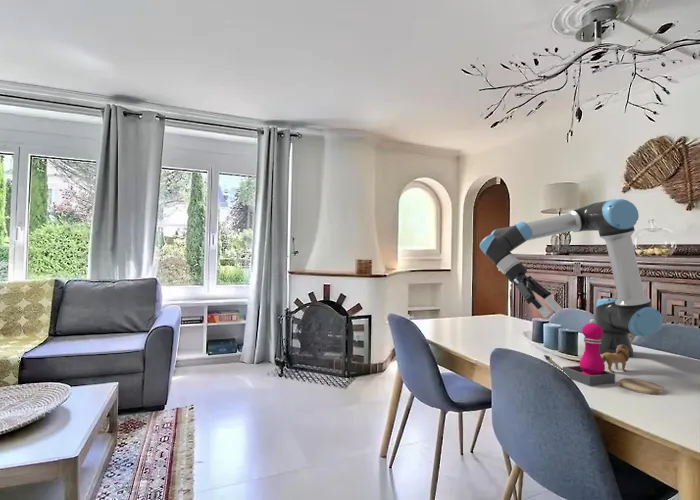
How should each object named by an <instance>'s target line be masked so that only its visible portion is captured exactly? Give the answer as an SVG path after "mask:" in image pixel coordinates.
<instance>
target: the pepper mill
mask: <svg viewBox="0 0 700 500" xmlns="http://www.w3.org/2000/svg"><path fill="white" fill-rule="evenodd" d="M581 333H582V335H584V337H583V342H584V352H583V353H582V356H581V358H580V360H579V365H580V368H581V369H582V370H583V372H581V373H583V374H586V375H589V376H592V375H601V373H602V372H603V371H606V366H605V362H604V361H603V359H602V357H601V356H602V354H601V353H600V349H599V347H600V344H601V339H600V338H601V337H602V336H603V329H602V328H601V327H600V326H599V325H597V324H596V319H595V318H591V319H590V320H589V323H586V324H584V326H583V327H582V330H581Z"/></svg>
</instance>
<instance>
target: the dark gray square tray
mask: <svg viewBox="0 0 700 500" xmlns="http://www.w3.org/2000/svg"><path fill="white" fill-rule="evenodd" d="M562 369H563V372H565V373H566V374H567V375H568V376H569V377H570V378H571V379H570V378H569V379H570V380H572V381H576V382H578V383H580V384H583V385H586V386H589V387H592V386H602V385H603V386H604V385H613V384H615V383H616V373H611V372H610V371H606V370H604V371H603V372H602V373H601V375H592V376H589V375H586V374H583V373H581V372H583V370H582V369H581V368H580V364H579V365H572V366H571V365H569V366H562Z"/></svg>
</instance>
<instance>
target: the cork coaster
mask: <svg viewBox="0 0 700 500" xmlns="http://www.w3.org/2000/svg"><path fill="white" fill-rule="evenodd" d="M618 384H619V386H620V387H621V388H623V389H626V390H628V391H632V392H636V393H639V394H644V395H645V394H646V395H661V394H663V392H664V391H663V389H664V388H663V386H661V385H660V384H658V383H656V382H652V381H650V380H645V379H638V378H631V377H629V378H620V379H619V382H618Z"/></svg>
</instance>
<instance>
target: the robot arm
mask: <svg viewBox="0 0 700 500" xmlns="http://www.w3.org/2000/svg"><path fill="white" fill-rule="evenodd" d="M637 221H639V210H638V209H637V207H636V205H635V204H634V203H633V202H631V201H630V200H628V199H624V198H623V199H622V198H619V199H616V198H615V199H609V200H605V201H599V202H593V203H590V204H588V205H586V206H582V207H579V208H576V209H573V210H572V209H571V210H569V211H568V212H567V213H565V214H561V215H556V216H550V217H546V218H542V219H538V220H534V221H533V220H532V221H529V222H525V221H519V222H517V223H515V224H514V225H512V226H510V225H509V226H505V227H502V228H496V229H494V230H492V232H491V233H490V234H489V235H487V236H485V237H484V238H483V239H482V240H481V242H480V243H479V249H480V250H481V252H482V253H483V254H484V255H485V256H486V257H487V258H488V259H489V260H490V261H491V262H492V263H493V264H494V266H495V267H497V269H498V272H501V273H502V274H503V275H505V278H506V279H507V280H508V281H509V282H510V283H513V284H514V285H515V287H516V288H517V290H518V291H519V292H520V294H521V295H522V297H523V299H524V300H525V302H526V303H527V304H528V305H530V304H531V305H532V306H533V307H534V308H535V309H536V310H537V312H538V313H540V315H541V316H542V317H543V318H544V319H546V318H547V317H548V316H550V315H551V314H552V311H553V312H554V313H555V314H557V315H558V314H559V313H561V311H563V310H564V308H563V307H562V306H561V305H560V304H559V303H558V302H557V301H556V300H555V299H554V298H553V297H552V296H551V295H552V293H551V292H550V291H549V290H548V289H546V288H545V287H544V286H542V285H541V284H540V283H539V282H538V281H537V280H535V279H534V278H533V277H532V276H531V275H528V276H527V275H526V274H527V271H528V269H527V267H525V266H524V265H523V264H522V263H521V262H520V260H519V259H518V258H517V257H516V256H515V255H514V254H513V253H512V252H513V250H515V249H517V248H518V247H519V246H521V245H522V244H524V243H525V242H526V243H527V241H531V240H535V239H541V238H546V237H550V236H555V235H558V234H565V233H567V232H569V233H570V232H572V233H580V232H586V231H587V232H591V231H593V232H594V231H598V233H599V234H598V235H599V238H601V239H603V240H604V241H605V245H606V249H607V253H608V257H609V258H608V259H609V263H610V268H611V271H612V275H613V280H614V285H615V289H616V293H617V298H599V299H597V300H596V306H595V310H596V313H595V315H596V316H595V317H596V318H595V321H596V323H595V324H597V325H599V326H600V327H601V328H602V329H603V336H602V337H601V338H600V339H601V344H600V347H599V349H600V355H602V354H604V353H616V349H617V346H618V345H626V347H627V348H628V349H629V357H632V356H634V348H633V347H632V342H631V339H630V337H629V334H630V335H633V336H639V337H643V338H644V337H645V338H646V337H647V338H648V337H650V336H653V335H655V334H656V333H658V331H659V330H660V329H661V327H662V325H663V315H662V314H661V312H660V311H659V310H657V309H656V308H654V307H653V304H652V301H651V298H649V297H648V296H646V295H645V291H644V286H643V281H642V278H641V274H640V270H639V269H640V268H639V265H638V259H637V256H636V252H635V247H634V243H633V239H632V235H633V234H634V233H635V231H636V229H635V225H637ZM535 294H536V295H538V296H539V297H540V298H542V299H543V301H544V302H545V303H546V305H548V306H549V308H551V309H552V311H551V310H550V309H549V308H548V307H547V306H545V304H544V303H543V302H542V301H541V300H540V298H538V297H536V295H535Z"/></svg>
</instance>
